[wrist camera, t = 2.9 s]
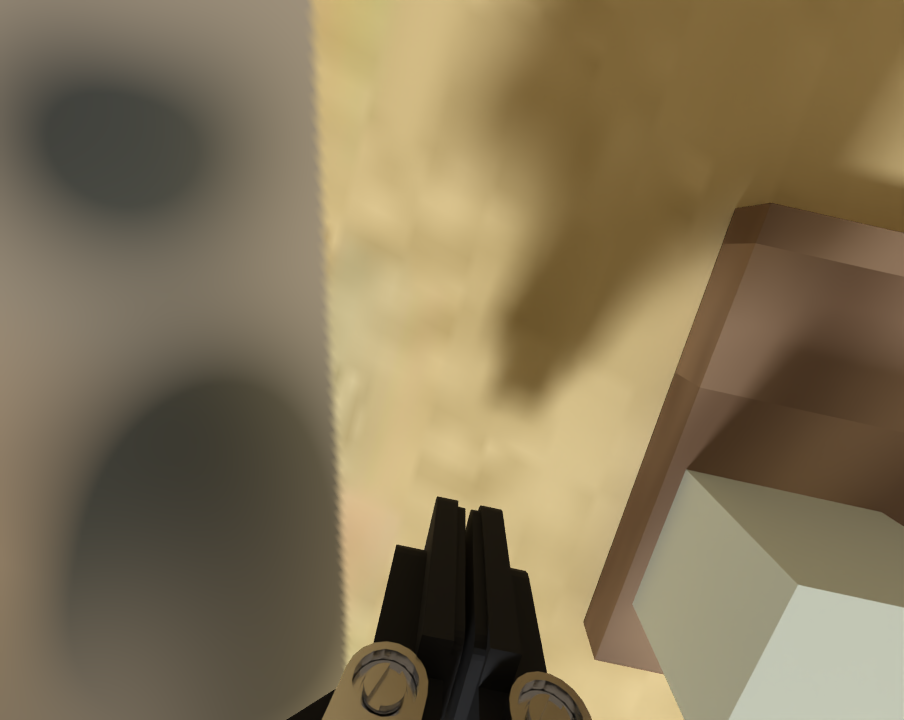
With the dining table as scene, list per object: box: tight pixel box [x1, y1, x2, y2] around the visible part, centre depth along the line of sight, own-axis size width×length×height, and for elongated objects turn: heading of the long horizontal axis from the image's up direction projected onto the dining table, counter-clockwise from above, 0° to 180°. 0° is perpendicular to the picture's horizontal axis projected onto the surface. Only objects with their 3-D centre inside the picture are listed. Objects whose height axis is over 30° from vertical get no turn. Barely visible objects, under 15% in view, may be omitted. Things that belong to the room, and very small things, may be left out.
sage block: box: [632, 469, 904, 720], centre depth 11 cm, size 6×5×4 cm
